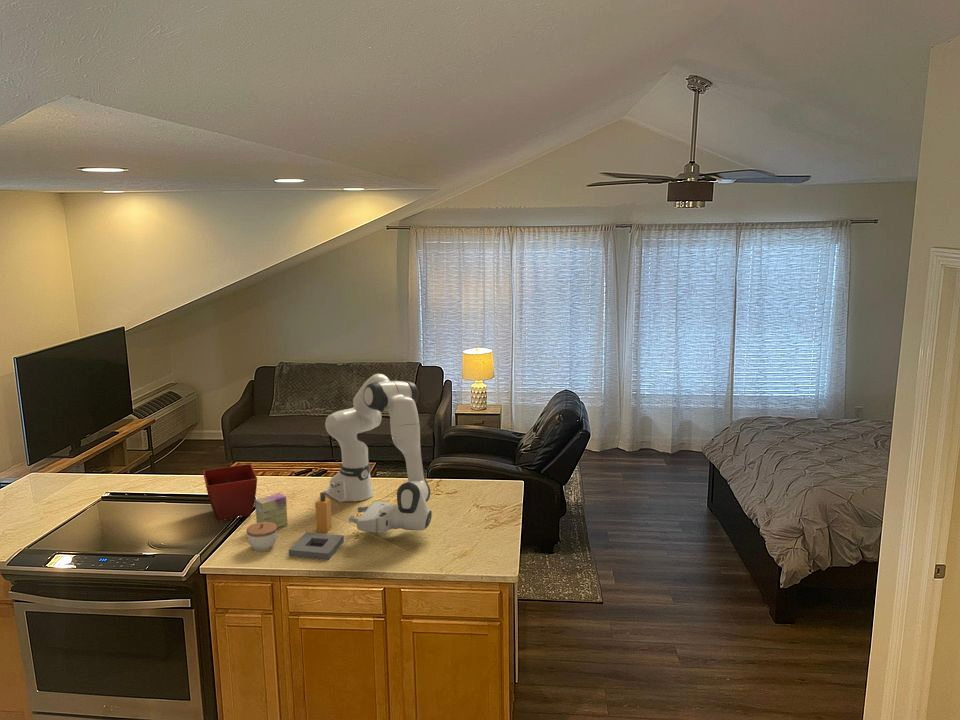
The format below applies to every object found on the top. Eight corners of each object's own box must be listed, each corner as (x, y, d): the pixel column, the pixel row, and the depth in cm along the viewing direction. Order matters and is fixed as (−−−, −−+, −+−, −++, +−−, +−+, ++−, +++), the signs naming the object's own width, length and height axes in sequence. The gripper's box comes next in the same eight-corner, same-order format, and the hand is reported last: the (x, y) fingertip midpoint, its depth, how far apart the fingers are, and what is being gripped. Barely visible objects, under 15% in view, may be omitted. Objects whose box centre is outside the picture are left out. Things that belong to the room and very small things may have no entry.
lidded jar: (278, 552, 264) (277, 527, 262) (247, 555, 261) (245, 531, 259) (277, 539, 274) (276, 516, 272) (247, 543, 271) (246, 519, 269)
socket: (288, 556, 261) (288, 549, 260) (306, 538, 275) (305, 532, 275) (328, 560, 258) (328, 553, 258) (344, 541, 272) (343, 535, 272)
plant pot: (209, 526, 285) (206, 485, 282) (205, 508, 302) (202, 470, 299) (259, 518, 293) (257, 478, 290) (253, 501, 310) (251, 463, 307)
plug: (316, 531, 281) (314, 494, 278) (321, 527, 285) (319, 490, 282) (327, 532, 280) (325, 495, 277) (331, 527, 284) (330, 491, 281)
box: (280, 520, 291) (278, 492, 289) (287, 524, 287) (286, 496, 285) (256, 528, 284) (254, 499, 282) (263, 532, 280) (261, 503, 278)
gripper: (396, 498, 286) (362, 496, 288) (380, 519, 266) (343, 516, 268) (397, 513, 287) (363, 511, 289) (380, 535, 267) (344, 532, 270)
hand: (353, 514), depth 279 cm, fingers open, 8 cm apart
